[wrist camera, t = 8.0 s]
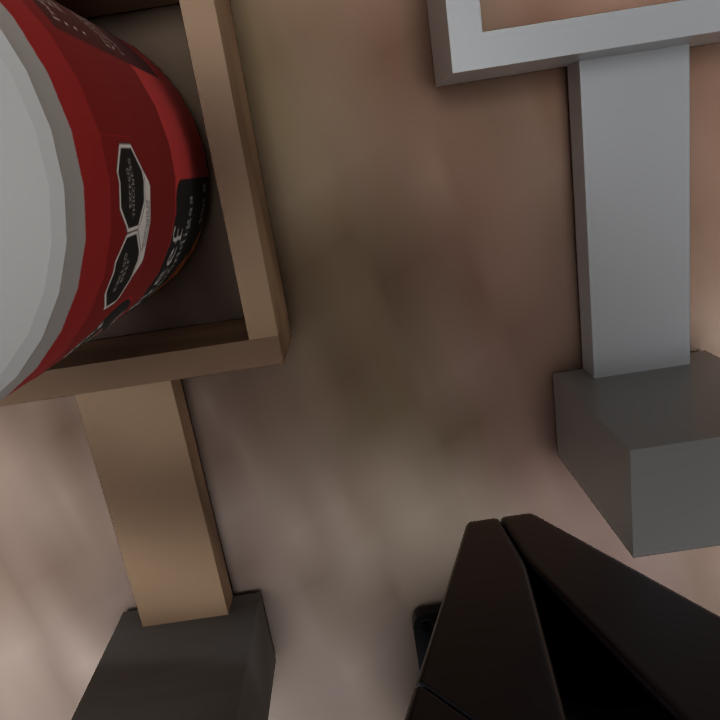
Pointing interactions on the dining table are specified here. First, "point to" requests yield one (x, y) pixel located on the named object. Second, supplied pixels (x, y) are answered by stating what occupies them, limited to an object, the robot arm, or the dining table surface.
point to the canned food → (85, 184)
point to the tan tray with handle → (180, 438)
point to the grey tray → (623, 258)
